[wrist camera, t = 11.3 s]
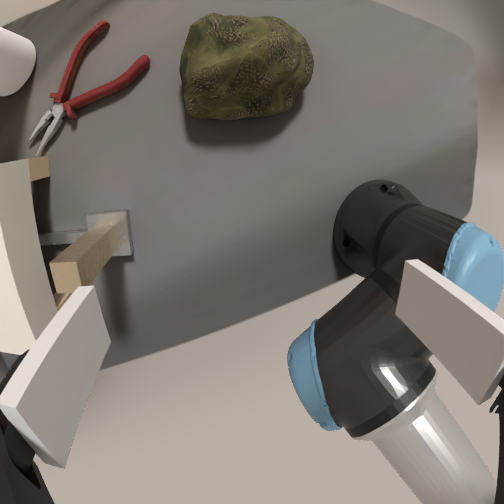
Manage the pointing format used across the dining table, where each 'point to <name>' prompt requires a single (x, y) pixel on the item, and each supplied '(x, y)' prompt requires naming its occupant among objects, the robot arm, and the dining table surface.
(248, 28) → the decorative rock
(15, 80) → the wine bottle
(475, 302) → the robot arm
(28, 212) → the cabinet
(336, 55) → the dining table surface
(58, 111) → the pliers
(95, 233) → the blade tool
